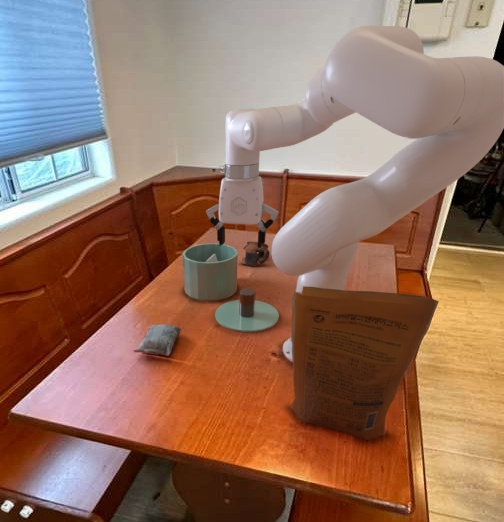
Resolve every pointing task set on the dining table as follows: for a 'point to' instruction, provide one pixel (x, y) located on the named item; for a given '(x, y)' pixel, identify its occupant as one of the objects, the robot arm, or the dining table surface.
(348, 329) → the pancake mix bag
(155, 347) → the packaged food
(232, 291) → the pot
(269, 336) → the dining table surface
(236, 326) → the lid
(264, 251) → the pottery mug
